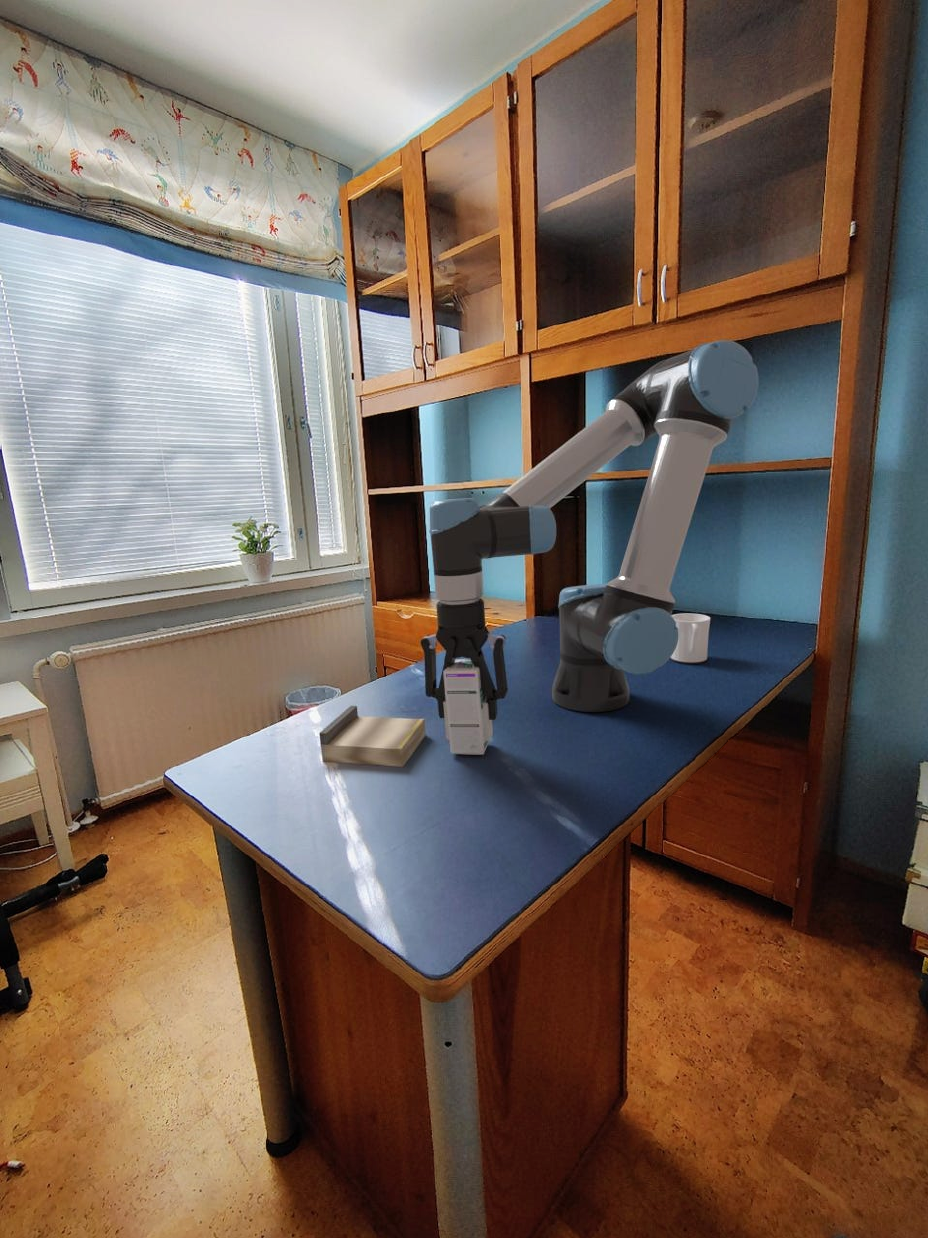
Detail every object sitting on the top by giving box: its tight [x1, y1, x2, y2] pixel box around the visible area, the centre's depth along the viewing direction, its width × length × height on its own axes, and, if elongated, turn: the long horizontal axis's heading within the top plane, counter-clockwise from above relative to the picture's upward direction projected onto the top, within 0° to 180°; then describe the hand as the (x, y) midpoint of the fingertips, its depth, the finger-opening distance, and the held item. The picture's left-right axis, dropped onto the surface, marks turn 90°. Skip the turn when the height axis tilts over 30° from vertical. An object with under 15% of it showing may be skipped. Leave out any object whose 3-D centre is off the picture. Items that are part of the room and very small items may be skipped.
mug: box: [669, 612, 711, 666], centre depth 134 cm, size 11×9×10 cm
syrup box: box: [443, 658, 490, 756], centre depth 94 cm, size 6×6×14 cm
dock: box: [319, 705, 427, 768], centre depth 98 cm, size 14×12×5 cm
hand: (469, 736), depth 95 cm, fingers closed on syrup box, 6 cm apart
